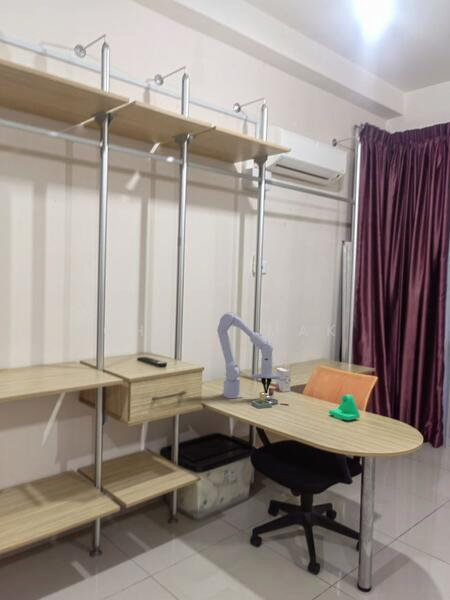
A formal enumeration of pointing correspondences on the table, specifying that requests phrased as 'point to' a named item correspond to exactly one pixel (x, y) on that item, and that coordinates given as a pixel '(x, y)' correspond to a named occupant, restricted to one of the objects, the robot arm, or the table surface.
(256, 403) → the tray
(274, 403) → the dark gray disc
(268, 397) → the crank
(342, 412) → the camera mount
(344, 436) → the table surface
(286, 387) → the ink cartridge box
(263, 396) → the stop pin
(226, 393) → the robot arm
